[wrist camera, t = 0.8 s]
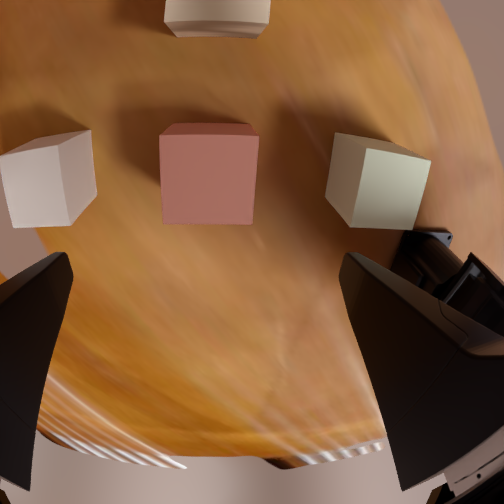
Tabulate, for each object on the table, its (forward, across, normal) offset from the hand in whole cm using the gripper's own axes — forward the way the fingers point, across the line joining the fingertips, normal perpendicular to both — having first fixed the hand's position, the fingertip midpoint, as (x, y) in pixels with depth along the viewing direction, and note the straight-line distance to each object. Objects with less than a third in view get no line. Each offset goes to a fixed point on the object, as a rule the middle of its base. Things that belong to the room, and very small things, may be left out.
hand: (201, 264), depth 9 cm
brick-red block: (+12, 0, 0) cm, 12 cm away
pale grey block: (+12, +11, 0) cm, 17 cm away
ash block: (+12, 0, -11) cm, 17 cm away
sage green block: (+12, -11, 0) cm, 17 cm away
